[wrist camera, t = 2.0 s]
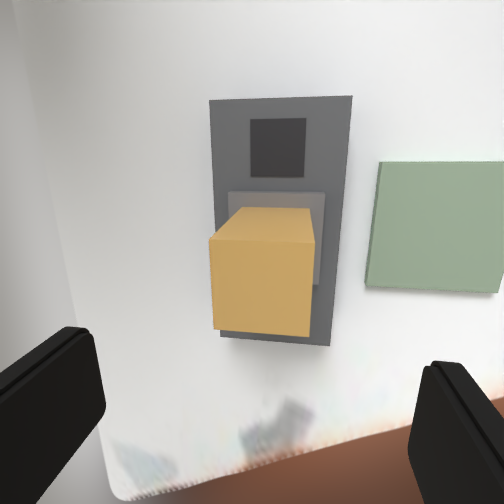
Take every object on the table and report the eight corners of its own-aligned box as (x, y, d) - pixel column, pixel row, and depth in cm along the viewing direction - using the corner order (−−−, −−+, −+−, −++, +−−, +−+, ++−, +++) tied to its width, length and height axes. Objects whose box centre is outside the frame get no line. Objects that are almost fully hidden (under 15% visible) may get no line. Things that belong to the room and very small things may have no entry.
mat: (379, 161, 23) (382, 162, 22) (526, 161, 21) (534, 162, 21) (364, 281, 26) (366, 285, 25) (491, 288, 24) (497, 293, 24)
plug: (241, 184, 25) (186, 217, 13) (320, 185, 24) (341, 220, 12) (243, 256, 27) (196, 344, 15) (315, 260, 26) (328, 356, 14)
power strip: (223, 108, 23) (206, 98, 19) (343, 104, 22) (354, 93, 18) (230, 312, 29) (218, 341, 25) (325, 319, 28) (330, 350, 23)
